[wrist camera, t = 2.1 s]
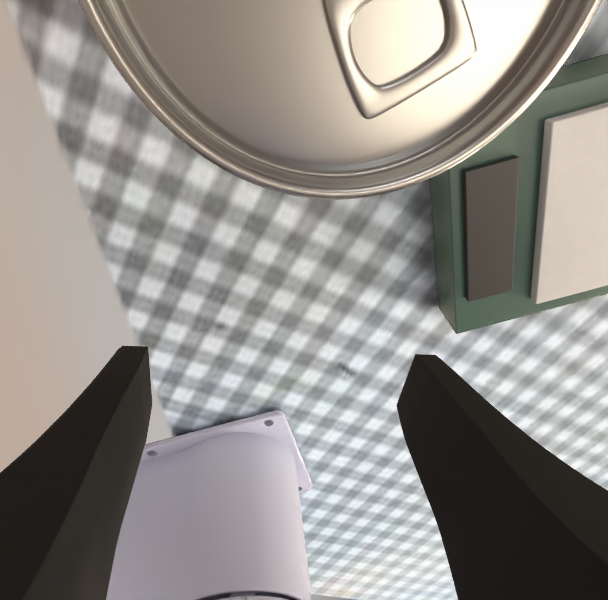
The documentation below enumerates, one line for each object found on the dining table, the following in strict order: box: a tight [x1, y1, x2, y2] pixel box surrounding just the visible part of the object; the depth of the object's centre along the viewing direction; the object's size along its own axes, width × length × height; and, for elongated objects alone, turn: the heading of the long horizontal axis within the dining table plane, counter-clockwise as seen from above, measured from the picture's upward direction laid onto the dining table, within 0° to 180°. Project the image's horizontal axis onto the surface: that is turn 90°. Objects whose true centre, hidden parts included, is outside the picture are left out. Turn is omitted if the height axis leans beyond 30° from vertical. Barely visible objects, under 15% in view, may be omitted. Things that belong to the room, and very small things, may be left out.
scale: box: [430, 54, 608, 334], centre depth 18 cm, size 13×10×3 cm
